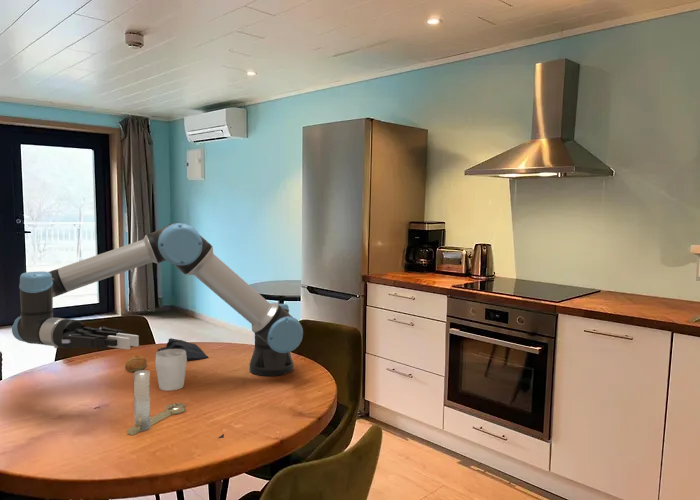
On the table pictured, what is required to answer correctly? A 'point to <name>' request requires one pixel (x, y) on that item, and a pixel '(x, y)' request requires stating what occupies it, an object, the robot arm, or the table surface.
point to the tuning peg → (148, 404)
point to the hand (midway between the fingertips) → (133, 342)
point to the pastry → (136, 363)
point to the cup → (171, 368)
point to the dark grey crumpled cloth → (186, 349)
